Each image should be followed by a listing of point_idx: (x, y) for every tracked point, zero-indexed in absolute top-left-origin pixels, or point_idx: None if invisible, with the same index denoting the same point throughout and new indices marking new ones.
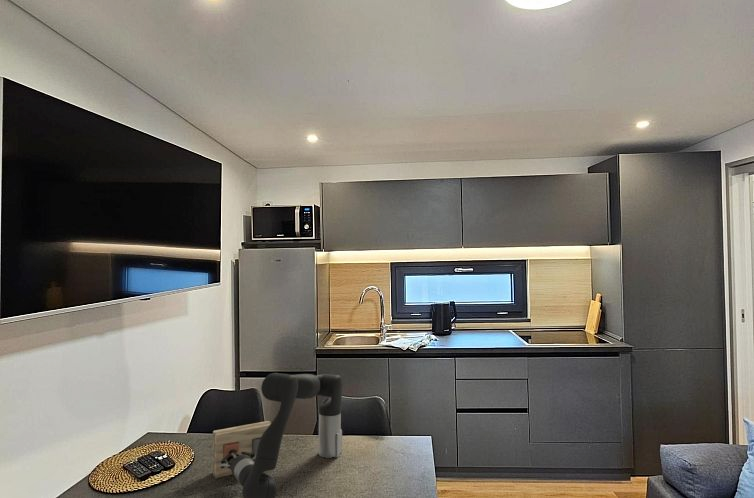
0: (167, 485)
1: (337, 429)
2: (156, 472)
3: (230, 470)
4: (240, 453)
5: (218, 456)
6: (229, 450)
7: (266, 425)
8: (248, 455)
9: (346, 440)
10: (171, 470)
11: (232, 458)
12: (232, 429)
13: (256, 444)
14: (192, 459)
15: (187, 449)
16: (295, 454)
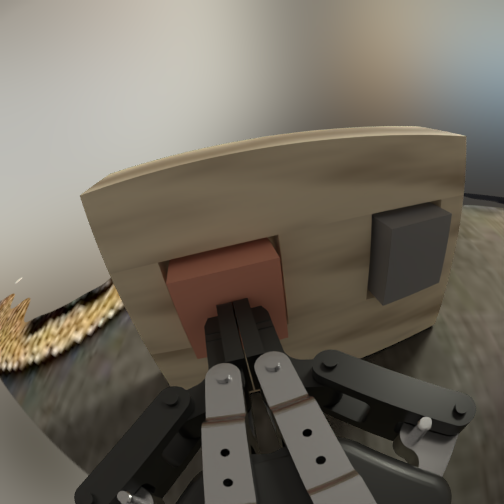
0: (45, 383)
1: None
2: (64, 310)
3: (251, 380)
4: (309, 415)
5: (154, 331)
6: (211, 306)
7: (441, 134)
8: (401, 416)
9: None
10: (90, 309)
11: (201, 493)
12: (221, 148)
13: (403, 251)
14: None
15: None
16: (470, 265)
